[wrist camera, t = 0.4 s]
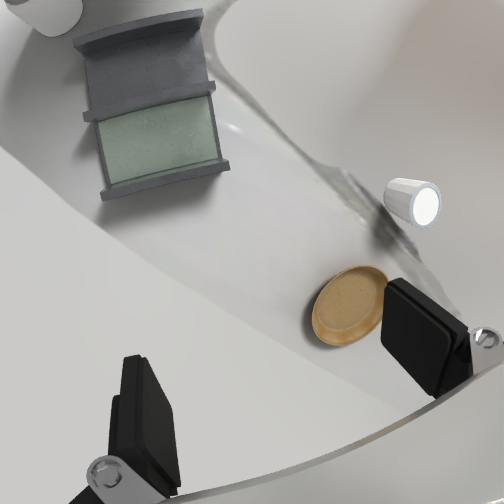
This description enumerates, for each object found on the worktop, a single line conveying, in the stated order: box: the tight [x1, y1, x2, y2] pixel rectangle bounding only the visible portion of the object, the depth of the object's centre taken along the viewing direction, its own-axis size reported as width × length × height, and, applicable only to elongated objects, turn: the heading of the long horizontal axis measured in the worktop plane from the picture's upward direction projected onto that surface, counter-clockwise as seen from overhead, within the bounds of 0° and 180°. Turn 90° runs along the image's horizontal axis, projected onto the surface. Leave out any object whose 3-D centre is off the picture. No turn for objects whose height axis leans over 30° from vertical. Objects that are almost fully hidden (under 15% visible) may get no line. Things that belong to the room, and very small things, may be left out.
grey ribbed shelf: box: [73, 8, 230, 201], centre depth 30 cm, size 20×14×6 cm
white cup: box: [384, 178, 442, 230], centre depth 42 cm, size 7×7×7 cm
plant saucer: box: [312, 265, 389, 346], centre depth 49 cm, size 15×15×3 cm
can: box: [4, 0, 83, 37], centre depth 19 cm, size 6×6×12 cm
